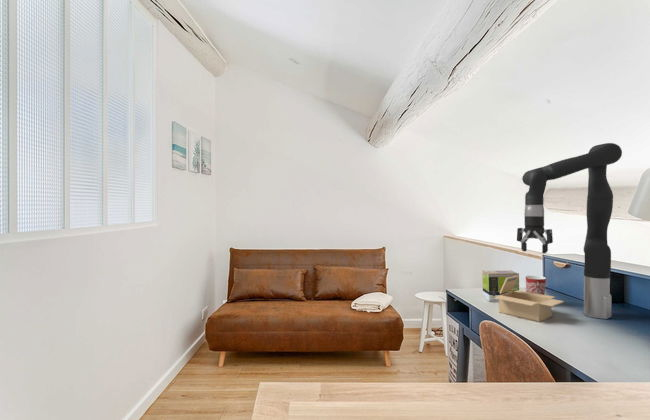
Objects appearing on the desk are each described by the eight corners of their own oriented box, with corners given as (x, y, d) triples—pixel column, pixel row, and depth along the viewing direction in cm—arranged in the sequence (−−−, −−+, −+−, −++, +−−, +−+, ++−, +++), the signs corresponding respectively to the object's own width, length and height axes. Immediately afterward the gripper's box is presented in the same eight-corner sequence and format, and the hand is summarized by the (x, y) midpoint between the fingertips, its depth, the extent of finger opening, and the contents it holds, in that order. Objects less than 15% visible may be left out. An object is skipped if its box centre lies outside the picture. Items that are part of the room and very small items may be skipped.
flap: (512, 290, 176) (518, 275, 173) (500, 293, 169) (507, 278, 167) (510, 289, 176) (517, 275, 173) (499, 292, 170) (506, 277, 167)
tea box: (511, 297, 196) (511, 269, 196) (519, 302, 186) (519, 273, 186) (482, 297, 198) (482, 269, 198) (488, 302, 188) (488, 272, 188)
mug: (549, 307, 177) (549, 279, 177) (528, 306, 180) (528, 278, 179) (540, 300, 190) (540, 274, 190) (520, 299, 192) (520, 273, 192)
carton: (568, 317, 162) (568, 298, 162) (546, 327, 149) (546, 307, 148) (517, 306, 179) (517, 289, 179) (493, 314, 166) (493, 296, 166)
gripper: (555, 215, 160) (555, 253, 160) (522, 214, 171) (522, 250, 172) (546, 215, 155) (546, 254, 156) (513, 215, 167) (513, 251, 168)
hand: (534, 252), depth 164 cm, fingers open, 8 cm apart
